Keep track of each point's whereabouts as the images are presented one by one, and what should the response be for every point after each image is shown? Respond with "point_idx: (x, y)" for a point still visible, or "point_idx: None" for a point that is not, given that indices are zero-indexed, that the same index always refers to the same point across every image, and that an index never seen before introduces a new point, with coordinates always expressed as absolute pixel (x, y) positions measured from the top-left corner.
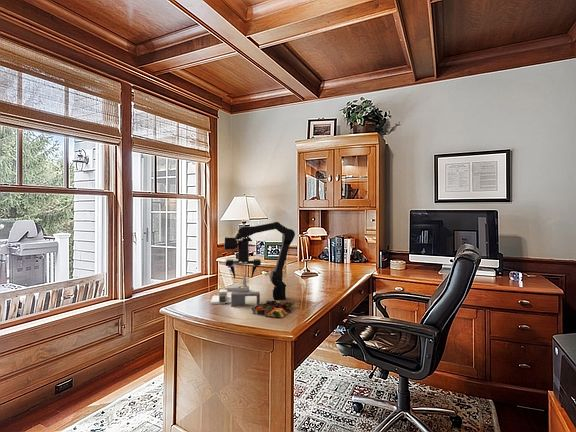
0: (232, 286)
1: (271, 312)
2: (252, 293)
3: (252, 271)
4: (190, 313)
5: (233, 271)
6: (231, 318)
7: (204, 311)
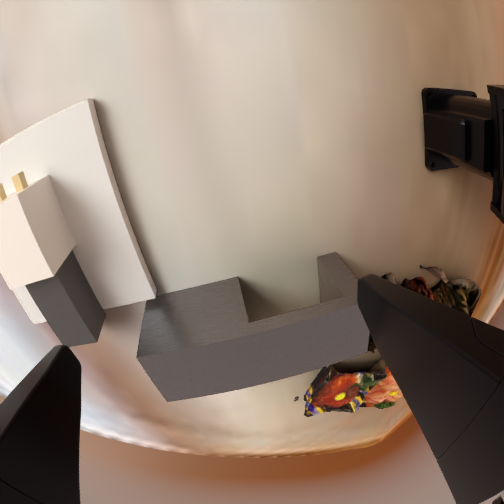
0: None
1: (373, 400)
2: (317, 356)
3: (425, 425)
4: None
5: (68, 492)
6: (233, 438)
7: (94, 403)
